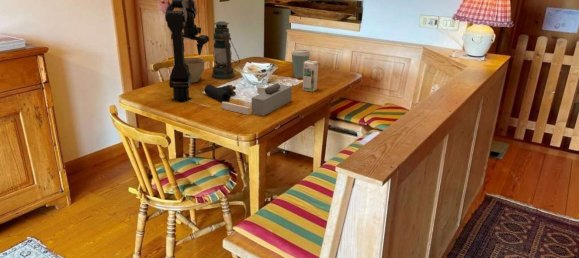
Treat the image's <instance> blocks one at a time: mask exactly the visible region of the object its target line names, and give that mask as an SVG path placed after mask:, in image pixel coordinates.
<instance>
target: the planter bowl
mask: <svg viewBox="0 0 579 258" xmlns="http://www.w3.org/2000/svg"><path fill="white" fill-rule="evenodd" d="M184 59H185V64H186V65H188V67H189V73H190V74H191V84H192V83H197V82H199V81H200V79H201V77H202V75H203V72H204V70H205V62H206V61H205V59H204V58H201V57H190V56H189V57H184ZM172 64H173V66H174V65H175V62H174V59H173V61H172Z"/></svg>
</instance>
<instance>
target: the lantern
mask: <svg viewBox="0 0 579 258" xmlns="http://www.w3.org/2000/svg"><path fill="white" fill-rule="evenodd" d="M213 24H214V25H215V27H214V33H213V38H212V40H214V43H213V52H212V55H213V58H214V63H215V65H214V66H213V68H212V73H211V78H213V79H216V80H230V79H233V78H235V77H236V75H235V73H234V67H232V66H233V62H234V63H235V64H236V63H237V64H241V60H240V58H239V54H238V52H237V50H236V48H235V45H234V44H233V42H232V37H231V33H230V29H229V27H228V25H230V22H226V21H221V20H220V21H218V22H214V23H213ZM231 45H232V46H231ZM231 47H233V50H234V51H235V53H236V56H237V58H238V61H239V62H237V61H235V60H234V59H232V54H233V53H232V48H231ZM232 61H233V62H232Z"/></svg>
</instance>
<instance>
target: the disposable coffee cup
mask: <svg viewBox="0 0 579 258" xmlns="http://www.w3.org/2000/svg"><path fill="white" fill-rule="evenodd" d="M310 56H311V52H310V50H309V49H294V50H292V51H291V61H292V62H291V63H292V71H293V72H292V73H293V76H294V78H297V79H303V71H304V62H305V61H308V60H309V61H310Z"/></svg>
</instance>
